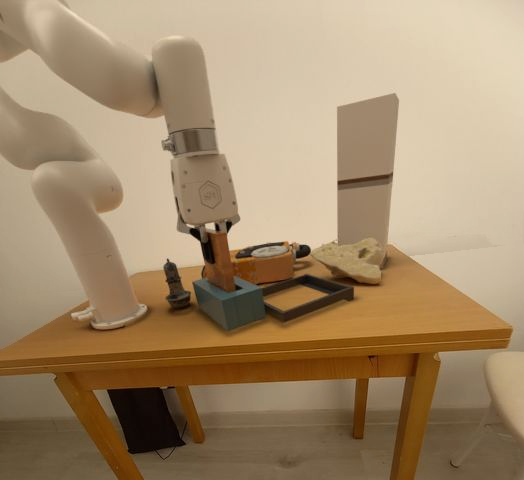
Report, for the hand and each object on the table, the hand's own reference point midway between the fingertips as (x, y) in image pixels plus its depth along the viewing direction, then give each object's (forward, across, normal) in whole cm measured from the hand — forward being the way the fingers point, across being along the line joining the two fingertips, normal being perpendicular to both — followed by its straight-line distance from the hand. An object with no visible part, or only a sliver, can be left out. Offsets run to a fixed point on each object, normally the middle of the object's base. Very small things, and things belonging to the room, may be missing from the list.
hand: (216, 260), depth 57 cm
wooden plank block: (+7, 0, 0) cm, 7 cm away
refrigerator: (+11, +44, +4) cm, 45 cm away
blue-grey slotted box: (+12, +1, 0) cm, 12 cm away
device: (+12, +20, +18) cm, 29 cm away
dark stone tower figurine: (+12, -6, +12) cm, 18 cm away
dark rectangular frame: (+11, +15, -6) cm, 19 cm away
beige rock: (+11, +31, -4) cm, 33 cm away
